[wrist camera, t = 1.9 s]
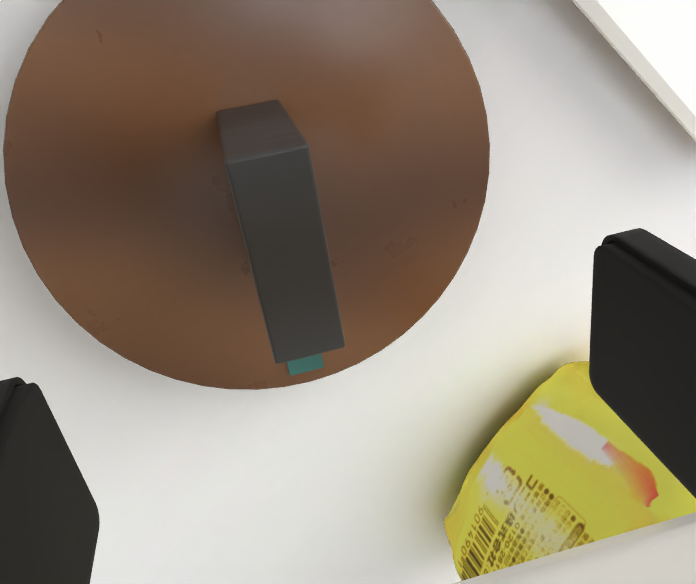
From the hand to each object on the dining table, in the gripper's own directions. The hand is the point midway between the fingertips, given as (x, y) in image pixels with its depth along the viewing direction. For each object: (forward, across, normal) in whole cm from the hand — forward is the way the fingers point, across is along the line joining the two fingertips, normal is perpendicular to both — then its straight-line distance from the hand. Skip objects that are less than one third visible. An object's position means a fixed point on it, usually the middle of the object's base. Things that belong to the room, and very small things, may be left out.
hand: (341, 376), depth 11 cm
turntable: (+10, 0, 0) cm, 10 cm away
